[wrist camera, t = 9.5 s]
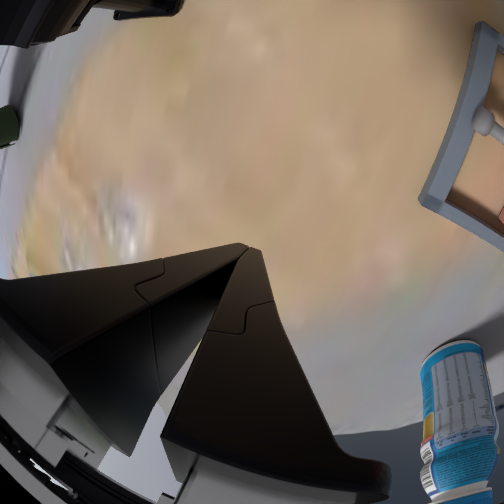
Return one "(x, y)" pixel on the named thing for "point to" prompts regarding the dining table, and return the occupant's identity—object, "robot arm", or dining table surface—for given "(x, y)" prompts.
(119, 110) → the dining table surface
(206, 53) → the dining table surface
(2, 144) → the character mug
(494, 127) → the sliding jaw
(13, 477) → the robot arm
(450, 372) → the beverage bottle
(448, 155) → the vise body
